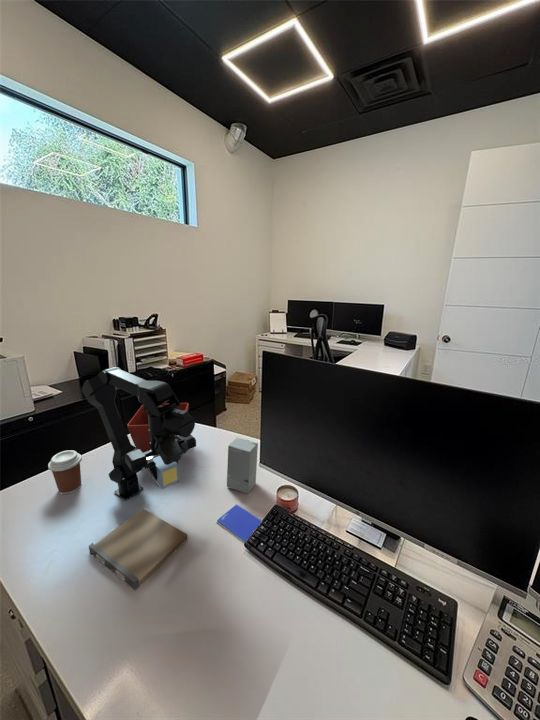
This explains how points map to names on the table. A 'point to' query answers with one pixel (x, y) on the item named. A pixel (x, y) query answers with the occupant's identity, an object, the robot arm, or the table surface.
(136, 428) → the plant pot
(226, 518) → the hard drive
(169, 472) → the box
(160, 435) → the robot arm
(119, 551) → the shelf board
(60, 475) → the coffee cup
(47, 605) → the table surface
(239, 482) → the skincare box
